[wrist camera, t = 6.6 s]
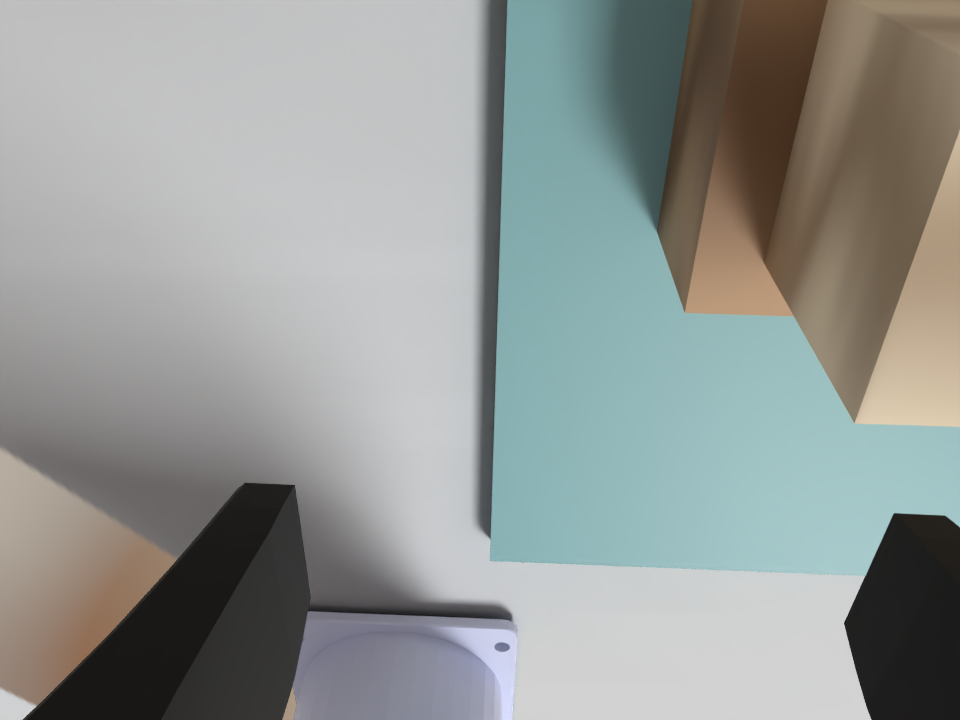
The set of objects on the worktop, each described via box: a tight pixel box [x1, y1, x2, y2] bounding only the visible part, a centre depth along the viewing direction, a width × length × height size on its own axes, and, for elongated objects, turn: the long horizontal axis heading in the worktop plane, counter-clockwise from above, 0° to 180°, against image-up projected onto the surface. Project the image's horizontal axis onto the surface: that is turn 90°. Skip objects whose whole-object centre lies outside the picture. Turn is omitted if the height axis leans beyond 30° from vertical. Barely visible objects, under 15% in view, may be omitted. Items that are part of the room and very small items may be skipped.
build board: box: [490, 0, 960, 576], centre depth 19 cm, size 19×14×1 cm
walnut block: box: [657, 0, 828, 316], centre depth 14 cm, size 7×7×4 cm
